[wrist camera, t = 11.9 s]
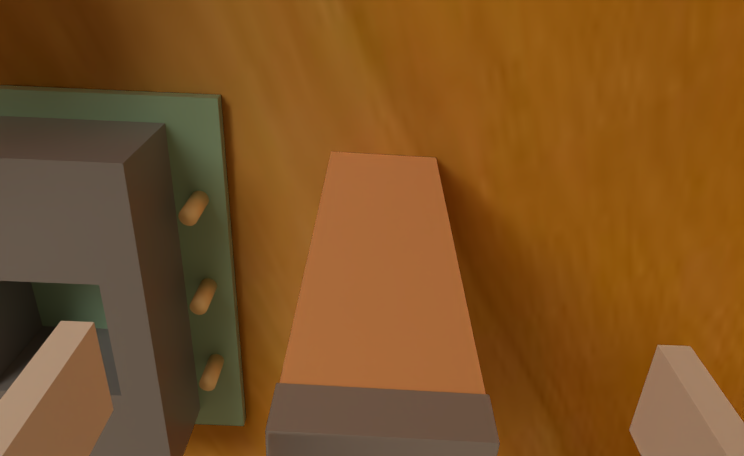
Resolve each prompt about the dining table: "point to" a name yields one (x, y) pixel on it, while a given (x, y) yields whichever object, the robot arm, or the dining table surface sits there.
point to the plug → (381, 325)
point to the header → (123, 253)
